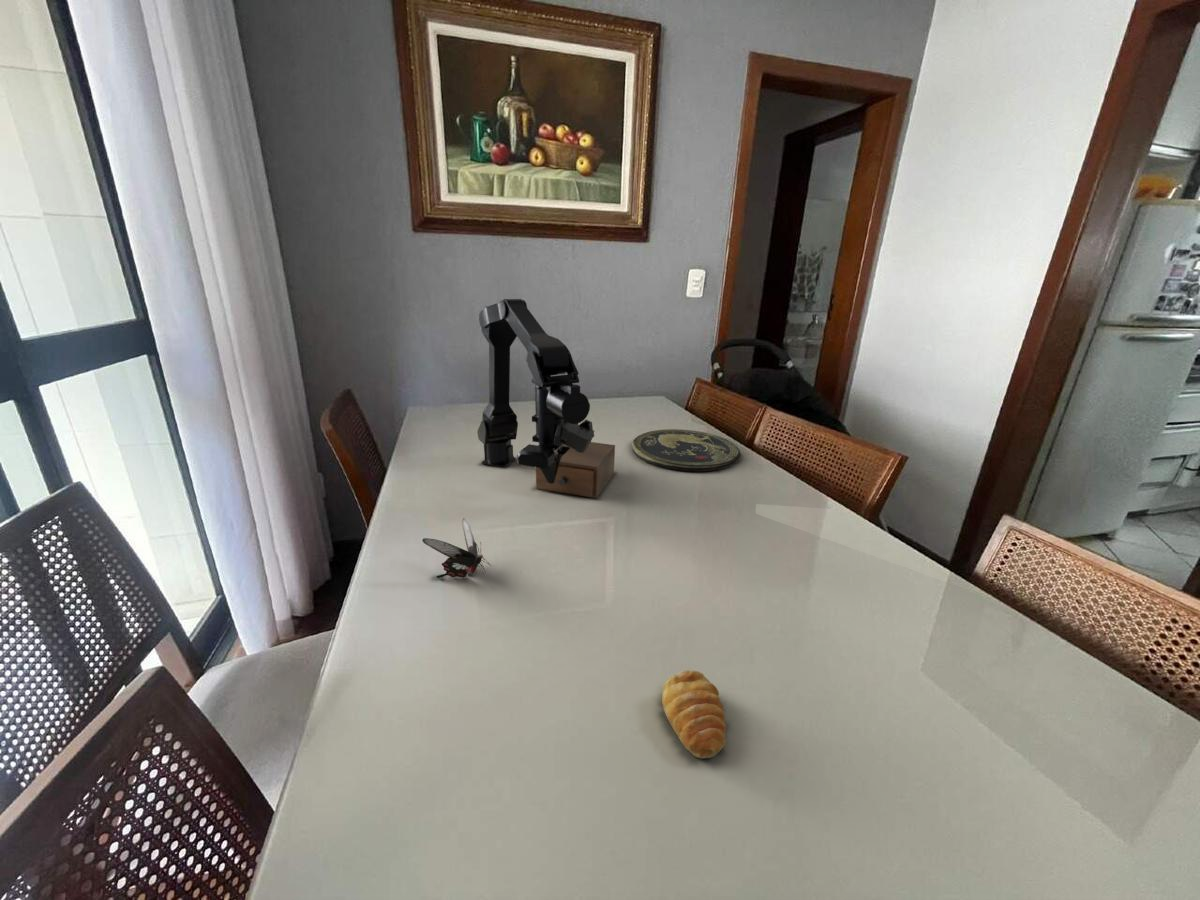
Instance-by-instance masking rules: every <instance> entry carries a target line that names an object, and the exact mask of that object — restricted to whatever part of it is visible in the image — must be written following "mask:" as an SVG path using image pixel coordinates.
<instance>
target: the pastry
mask: <svg viewBox="0 0 1200 900" xmlns="http://www.w3.org/2000/svg"><path fill="white" fill-rule="evenodd" d="M719 695H720V694H719V690H718V688H717V687H716V685H715V684H714V683H712V682H711V681H710V680H709V679H708V678H707V677H706V676H705V675H704V673H703V672H701V671H698V670H683V671H680V673H677V674H674V675H672V676H671V677H670V678H668V680H667V681H666V682H665V683H664V684H663V686H662V696H661V697H662V698H661V704H662V708H663V710H664V714H665V716H666V718H667V720H668V721H669V724H670V725H671V728H672V729H673V731H674V733H675V734H676V735H677V738H678V739H679V741H680V742H681V744H682V745H683V746H684V748H685V749H686V751H689V753H690V754H691V755H693V756H694V757H695V758H698V759H710V758H713V757H715V756H716V755H718V754H719V753H720V751H721V750H722V749H723V748H724V747H725V745H726V730H727V726H726V722H725V720H726V719H725V708H724V705H723V703H722V701H721V699H720V697H719Z"/></svg>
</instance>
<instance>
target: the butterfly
mask: <svg viewBox="0 0 1200 900" xmlns="http://www.w3.org/2000/svg"><path fill="white" fill-rule="evenodd" d="M461 523H462V530H463V536H464V540H465V544H466V549H467V550H465V549H463V548H461V547H459V546H456V545H454V544H452V543H449V542H447V541H443V540H439V539H435V538H429V537H428V538H425V537H423V538H422V540H421V541H422V543H423V544H424V545H426V546H427V547H429V548H431V549H433V550H435V551H436V552H438V553H440V554H442V555H444V556H446V557H447V559H445V561H444V562H442V563H441V566H442V567H443V571H444V572H445V573H442V574H439V575H436V576H435V577H436V578H437V579H442V578H444V577H447V576H448V577H451V578H457V577H458V578H466V577H467V576H468V575H469V574H470V573H471V574H472V575H473V574H475V573H476V571H477V569H478V568H480V570H481V572H482V573H483V574H485V573H484V572H486V570H485V566H484V564H483V563H485V564H487V565H490V566H491V563H489V562H487V560H486V558H484V555H483V554H481V553H482V549H480V548H479V546H478V544H477V542H476V540H475V538H474V535H473V531H472V529H471V526H470V525H469V523H468V521H467V519H466V518H465V517H463V518H462V520H461ZM479 544H480V545H482V542H481V541H479Z"/></svg>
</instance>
